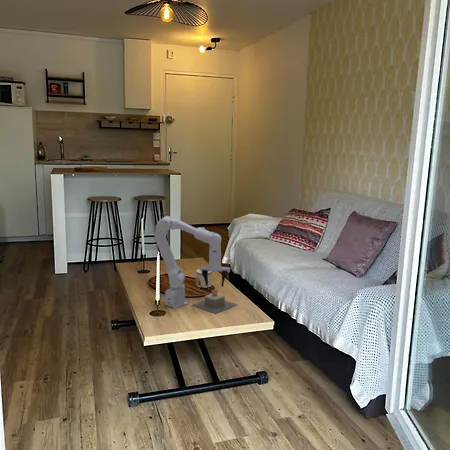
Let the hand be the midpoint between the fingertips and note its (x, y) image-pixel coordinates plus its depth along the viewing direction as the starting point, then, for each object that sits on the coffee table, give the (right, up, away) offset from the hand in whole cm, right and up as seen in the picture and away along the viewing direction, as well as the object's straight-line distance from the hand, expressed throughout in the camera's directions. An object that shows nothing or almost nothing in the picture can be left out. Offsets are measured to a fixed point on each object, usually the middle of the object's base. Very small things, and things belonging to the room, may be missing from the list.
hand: (214, 285), depth 223 cm
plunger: (0, -8, +2) cm, 8 cm away
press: (0, -10, +2) cm, 10 cm away
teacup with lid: (-6, -5, +29) cm, 30 cm away
